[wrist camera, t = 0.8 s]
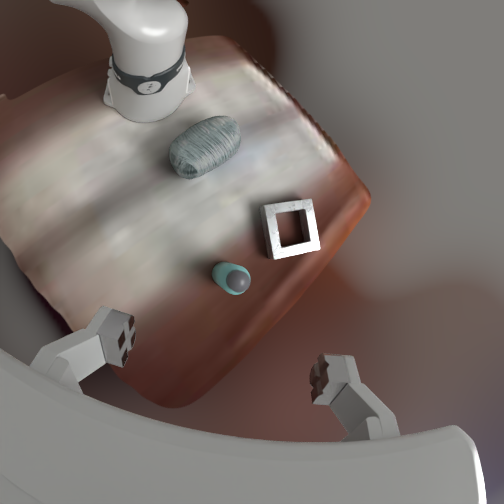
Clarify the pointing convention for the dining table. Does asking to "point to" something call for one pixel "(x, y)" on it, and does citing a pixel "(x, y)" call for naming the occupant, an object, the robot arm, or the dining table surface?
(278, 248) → the housing
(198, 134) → the spool
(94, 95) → the dining table surface
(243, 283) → the bottle
